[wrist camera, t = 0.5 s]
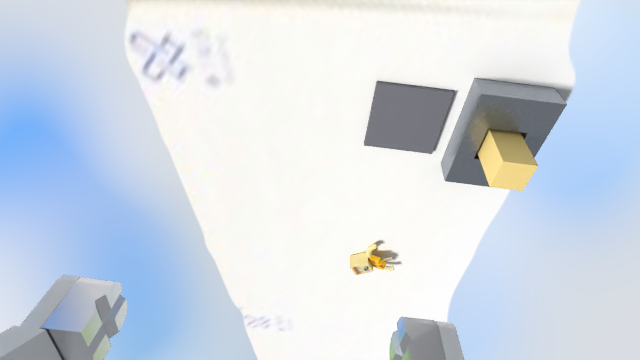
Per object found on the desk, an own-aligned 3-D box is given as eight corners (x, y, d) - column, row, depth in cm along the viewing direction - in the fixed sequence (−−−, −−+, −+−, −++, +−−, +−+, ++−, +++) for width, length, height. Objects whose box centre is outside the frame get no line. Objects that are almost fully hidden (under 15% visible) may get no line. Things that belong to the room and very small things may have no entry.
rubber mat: (376, 81, 48) (376, 83, 48) (453, 90, 48) (454, 92, 47) (364, 142, 55) (364, 145, 54) (431, 151, 55) (431, 153, 54)
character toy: (397, 276, 71) (359, 283, 74) (397, 262, 73) (360, 269, 76) (383, 251, 66) (343, 260, 69) (383, 237, 69) (344, 246, 72)
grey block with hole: (474, 78, 47) (481, 93, 44) (554, 87, 46) (566, 104, 43) (440, 163, 56) (444, 181, 53) (506, 171, 56) (514, 189, 53)
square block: (483, 114, 50) (503, 161, 42) (512, 118, 50) (538, 165, 42) (472, 138, 53) (489, 186, 45) (500, 142, 53) (522, 190, 45)
